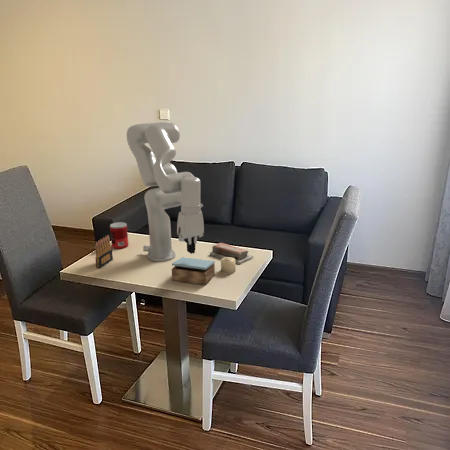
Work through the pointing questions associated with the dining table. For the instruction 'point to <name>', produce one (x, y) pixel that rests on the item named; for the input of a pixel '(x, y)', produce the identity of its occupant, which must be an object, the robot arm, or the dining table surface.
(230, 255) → the packaged product
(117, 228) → the canned food
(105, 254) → the ammunition clip
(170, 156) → the robot arm
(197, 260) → the lid
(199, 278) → the crate
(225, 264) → the cream bottle with knob
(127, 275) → the dining table surface
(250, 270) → the dining table surface
